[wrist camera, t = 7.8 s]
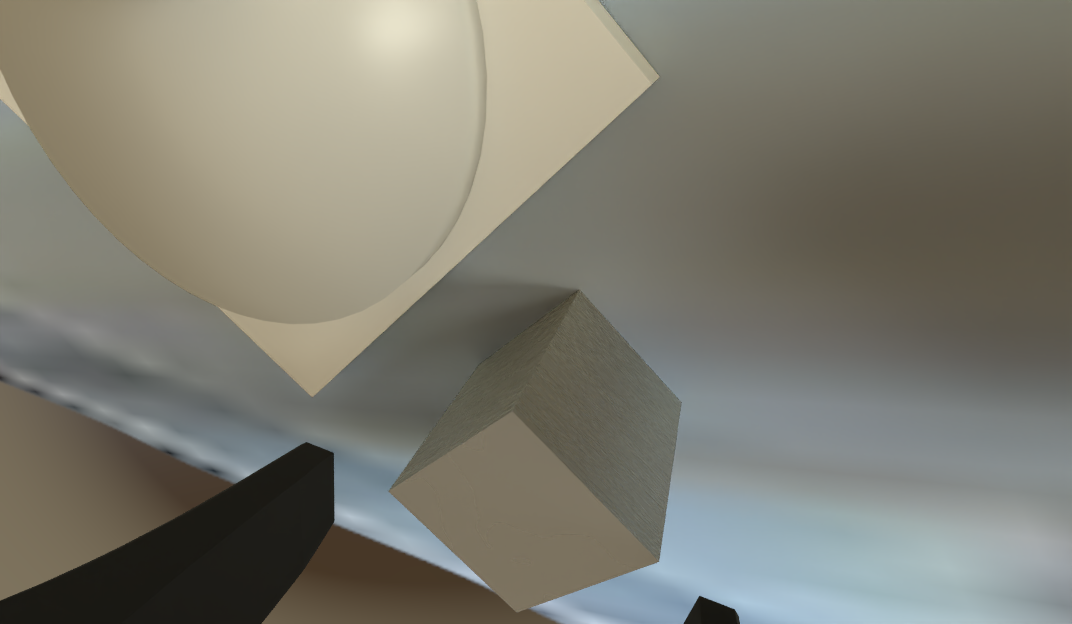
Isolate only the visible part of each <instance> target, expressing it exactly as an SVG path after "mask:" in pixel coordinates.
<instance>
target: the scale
mask: <svg viewBox="0 0 1072 624" xmlns="http://www.w3.org/2000/svg"><path fill="white" fill-rule="evenodd" d="M658 78H659V75H658V74H657V73H656V72H655V70H654V69H653V68H652V67H651V65H650V64H649V63H648V62H647V60H646V59H645V58H644V57H643V55H642V54H641V53H640V52H639V50H638V49H637V48H636V47H635V45H634V44H633V43H632V42H631V41H630V39H629V38H628V37H627V36H626V34H625V33H624V32H623V31H622V29H621V28H620V27H619V26H618V24H617V23H616V22H615V21H614V19H613V18H612V17H611V16H610V14H609V13H608V12H607V11H606V9H605V8H604V7H603V6H602V4H601V3H600V2H599V1H598V0H0V99H1V100H2V101H3V102H4V103H5V104H6V105H7V106H8V107H9V108H11V109H12V110H13V111H14V112H15V113H16V114H17V115H18V116H19V117H20V118H21V119H22V120H23V121H24V122H25V123H26V124H27V125H28V126H29V127H30V129H31V131H32V132H33V134H34V135H35V137H36V139H37V140H38V142H39V143H40V145H41V146H42V148H43V150H44V151H45V153H46V154H47V156H48V157H49V159H50V160H51V162H52V163H53V165H54V166H55V167H56V169H57V170H58V171H59V173H60V174H61V175H62V177H63V178H64V179H65V181H66V182H67V184H68V185H69V186H70V188H71V189H72V190H73V191H74V193H75V194H76V195H77V196H78V197H79V198H80V200H81V201H82V202H83V203H84V204H85V205H86V207H87V208H88V209H89V210H90V211H91V213H92V214H93V215H94V216H95V217H96V218H97V219H98V220H99V221H100V222H101V223H102V224H103V225H104V226H105V227H106V228H107V229H108V230H109V231H110V232H111V233H112V234H113V235H114V236H115V237H116V238H117V239H118V240H119V241H120V242H121V243H122V244H123V245H125V246H126V247H127V248H128V249H129V250H130V251H131V252H133V253H134V254H135V255H136V256H137V257H138V258H139V259H141V260H142V261H143V262H145V263H146V264H147V265H149V266H150V267H151V268H153V269H154V270H155V271H157V272H158V273H159V274H161V275H162V276H163V277H165V278H166V279H168V280H170V281H171V282H173V283H174V284H176V285H178V286H179V287H181V288H183V289H184V290H186V291H187V292H189V293H191V294H193V295H195V296H197V297H199V298H201V299H203V300H205V301H207V302H209V303H211V304H213V305H215V306H217V307H218V308H219V309H220V310H221V311H223V312H224V313H225V314H226V315H227V316H228V317H229V318H230V319H231V320H232V321H233V322H234V323H235V324H236V325H237V326H238V327H239V328H240V329H241V330H242V331H243V332H244V333H246V334H247V335H248V336H249V337H250V338H251V339H252V340H253V341H254V342H255V343H256V344H257V345H258V346H259V347H260V348H261V349H262V350H263V351H264V352H265V353H266V354H267V355H268V356H270V357H271V358H272V359H273V360H274V361H275V362H276V363H277V364H278V365H279V366H280V367H281V368H282V369H283V370H284V371H285V372H286V373H287V374H288V375H289V376H290V377H291V378H293V379H294V380H295V381H296V382H297V383H298V384H299V385H300V386H301V387H302V388H303V389H304V390H305V391H306V392H307V393H308V394H309V395H310V396H311V397H313V396H314V395H316V394H317V393H318V392H319V391H320V390H321V389H322V388H323V387H324V386H325V385H326V384H327V383H329V382H330V381H331V380H332V379H333V378H334V377H335V376H336V375H337V374H338V373H339V372H340V371H342V370H343V369H344V368H345V367H346V366H347V365H348V364H349V363H350V362H351V361H352V360H353V359H355V358H356V357H357V356H358V355H359V354H360V353H361V352H362V351H363V350H364V349H365V348H366V347H368V346H369V345H370V344H371V343H372V342H373V341H374V340H375V339H376V338H377V337H378V336H380V335H381V334H382V333H383V332H384V331H385V330H386V329H387V328H388V327H389V326H390V325H391V324H393V323H394V322H395V321H396V320H397V319H398V318H399V317H400V316H401V315H402V314H403V313H404V312H406V311H407V310H408V309H409V308H410V307H411V306H412V305H413V304H414V303H415V302H416V301H417V300H419V299H420V298H421V297H422V296H423V295H424V294H425V293H426V292H427V291H428V290H429V289H430V288H432V287H433V286H434V285H435V284H436V283H437V282H438V281H439V280H440V279H441V278H442V277H444V276H445V275H446V274H447V273H448V272H449V271H450V270H451V269H452V268H453V267H454V266H455V265H457V264H458V263H459V262H460V261H461V260H462V259H463V258H464V257H465V256H466V255H467V254H468V253H470V252H471V251H472V250H473V249H474V248H475V247H476V246H477V245H478V244H479V243H480V242H481V241H483V240H484V239H485V238H486V237H487V236H488V235H489V234H490V233H491V232H492V231H493V230H495V229H496V228H497V227H498V226H499V225H500V224H501V223H502V222H503V221H504V220H505V219H506V218H508V217H509V216H510V215H511V214H512V213H513V212H514V211H515V210H516V209H517V208H518V207H519V206H521V205H522V204H523V203H524V202H525V201H526V200H527V199H528V198H529V197H530V196H531V195H532V194H534V193H535V192H536V191H537V190H538V189H539V188H540V187H541V186H542V185H543V184H544V183H545V182H547V181H548V180H549V179H550V178H551V177H552V176H553V175H554V174H555V173H556V172H557V171H559V170H560V169H561V168H562V167H563V166H564V165H565V164H566V163H567V162H568V161H569V160H570V159H572V158H573V157H574V156H575V155H576V154H577V153H578V152H579V151H580V150H581V149H582V148H583V147H585V146H586V145H587V144H588V143H589V142H590V141H591V140H592V139H593V138H594V137H595V136H596V135H598V134H599V133H600V132H601V131H602V130H603V129H604V128H605V127H606V126H607V125H608V124H609V123H611V122H612V121H613V120H614V119H615V118H616V117H617V116H618V115H619V114H620V113H621V112H623V111H624V110H625V109H626V108H627V107H628V106H629V105H630V104H631V103H632V102H633V101H634V100H636V99H637V98H638V97H639V96H640V95H641V94H642V93H643V92H644V91H645V90H646V89H647V88H649V87H650V86H651V85H652V84H653V83H654V82H655V81H656V80H657V79H658Z"/></svg>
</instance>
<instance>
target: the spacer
mask: <svg viewBox="0 0 1072 624" xmlns="http://www.w3.org/2000/svg"><path fill="white" fill-rule="evenodd" d="M681 404H682V402H681V401H680V400H679V399H678V398H677V397H676V396H675V395H674V394H673V392H672V391H671V390H670V389H669V388H668V387H667V386H666V385H665V384H664V383H663V381H662V380H661V379H660V378H659V377H658V376H657V375H656V374H655V373H654V371H653V370H652V369H651V368H650V367H649V366H648V365H647V364H646V363H645V361H644V360H643V359H642V358H641V357H640V356H639V355H638V354H637V353H636V352H635V350H634V349H633V348H632V347H631V346H630V345H629V344H628V343H627V342H626V340H625V339H624V338H623V337H622V336H621V335H620V334H619V333H618V332H617V331H616V329H615V328H614V327H613V326H612V325H611V324H610V323H609V322H608V321H607V319H606V318H605V317H604V316H603V315H602V314H601V313H600V312H599V311H598V309H597V308H596V307H595V306H594V305H593V304H592V303H591V302H590V301H589V300H588V298H587V297H586V296H585V295H584V294H583V293H582V292H581V291H580V290H578V291H577V292H576V293H574V294H573V295H572V296H570V297H569V298H568V299H566V300H565V301H564V302H562V303H561V304H560V305H558V306H557V307H556V308H554V309H553V310H552V311H550V312H549V313H548V314H546V315H545V316H544V317H542V318H541V319H540V320H538V321H537V322H536V323H534V324H533V325H532V326H530V327H529V328H528V329H526V330H525V331H524V332H522V333H521V334H520V335H518V336H517V337H516V338H514V339H513V340H512V341H510V342H509V343H508V344H506V345H505V346H504V347H502V348H501V349H499V350H498V351H497V352H495V353H494V354H493V355H491V356H490V357H489V358H487V359H486V360H485V361H483V362H482V363H481V364H479V365H478V367H477V368H476V370H475V371H474V372H473V374H472V375H471V377H470V378H469V379H468V381H467V382H466V384H465V385H464V386H463V388H462V389H461V391H460V392H459V393H458V395H457V396H456V398H455V399H454V400H453V402H452V403H451V405H450V406H449V407H448V409H447V410H446V411H445V413H444V414H443V416H442V417H441V418H440V420H439V421H438V423H437V424H436V425H435V427H434V428H433V430H432V431H431V432H430V434H429V435H428V437H427V438H426V439H425V441H424V442H423V444H422V445H421V446H420V448H419V449H418V451H417V452H416V453H415V455H414V456H413V458H412V459H411V460H410V462H409V463H408V465H407V466H406V467H405V469H404V470H403V472H402V473H401V474H400V476H399V477H398V479H397V480H396V481H395V483H394V484H393V486H392V487H391V488H390V490H389V492H390V493H391V494H392V495H393V496H394V497H395V498H396V499H397V500H398V501H399V502H400V503H401V504H402V505H404V506H405V507H406V508H407V509H408V510H409V511H410V512H411V513H412V514H413V515H414V516H415V517H416V518H417V519H418V520H419V521H420V522H422V523H423V524H424V525H425V526H426V527H427V528H428V529H429V530H430V531H431V532H432V533H433V534H434V535H435V536H436V537H437V538H438V539H440V540H441V541H442V542H443V543H444V544H445V545H446V546H447V547H448V548H449V549H450V550H451V551H452V552H453V553H454V554H455V555H456V556H458V557H459V558H460V559H461V560H462V561H463V562H464V563H465V564H466V565H467V566H468V567H469V568H470V569H471V570H472V571H473V572H474V573H475V574H477V575H478V576H479V577H480V578H481V579H482V580H483V581H484V582H485V583H486V584H487V585H488V586H489V587H490V588H491V589H492V590H493V591H495V592H496V593H497V594H498V595H499V596H500V597H501V598H502V599H503V600H505V602H506V603H507V604H508V605H509V606H510V607H512V608H513V609H514V610H515V611H516V612H519V611H522V610H525V609H528V608H531V607H533V606H536V605H539V604H542V603H545V602H547V601H550V600H553V599H556V598H559V597H561V596H564V595H567V594H570V593H573V592H575V591H578V590H581V589H584V588H587V587H590V586H592V585H595V584H598V583H601V582H604V581H606V580H609V579H612V578H615V577H618V576H620V575H623V574H626V573H629V572H632V571H634V570H637V569H640V568H643V567H646V566H648V565H651V564H654V563H657V562H659V559H660V552H661V545H662V538H663V530H664V523H665V516H666V509H667V502H668V495H669V488H670V481H671V474H672V467H673V460H674V453H675V446H676V439H677V432H678V425H679V418H680V411H681Z"/></svg>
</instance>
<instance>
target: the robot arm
mask: <svg viewBox="0 0 1072 624" xmlns="http://www.w3.org/2000/svg"><path fill="white" fill-rule="evenodd" d="M333 523H334V453H333V452H330V451H328V450H325V449H323V448H320V447H318V446H315V445H312V444H310V443H307V442H306V443H304V444H301V445H300V446H298V447H296V448H295V449H293V450H291V451H290V452H288V453H286V454H285V455H283V456H281V457H280V458H278V459H276V460H275V461H273V462H271V463H270V464H268V465H266V466H265V467H263V468H261V469H260V470H258V471H256V472H255V473H253V474H251V475H250V476H248V477H246V478H245V479H243V480H241V481H240V482H238V483H236V484H234V485H233V486H231V487H229V488H228V489H226V490H224V491H222V492H221V493H219V494H217V495H215V496H214V497H212V498H210V499H208V500H207V501H205V502H203V503H201V504H200V505H198V506H196V507H195V508H193V509H191V510H189V511H187V512H185V513H184V514H182V515H180V516H178V517H176V518H175V519H173V520H171V521H169V522H167V523H165V524H163V525H161V526H159V527H157V528H156V529H154V530H152V531H150V532H148V533H146V534H144V535H142V536H140V537H138V538H136V539H134V540H132V541H131V542H129V543H127V544H125V545H123V546H121V547H119V548H117V549H115V550H113V551H111V552H109V553H107V554H105V555H103V556H100V557H98V558H96V559H94V560H92V561H90V562H88V563H86V564H84V565H81V566H79V567H77V568H75V569H73V570H70V571H68V572H66V573H64V574H62V575H59V576H57V577H55V578H53V579H51V580H48V581H46V582H44V583H42V584H39V585H37V586H35V587H32V588H30V589H27V590H25V591H22V592H20V593H18V594H15V595H13V596H10V597H8V598H6V599H3V600H1V601H0V624H261V623H262V622H263V621H264V620H265V618H266V617H267V616H268V615H269V613H270V612H271V611H272V610H273V608H274V607H275V606H276V604H277V603H278V602H279V601H280V599H281V598H282V597H283V596H284V594H285V593H286V592H287V591H288V589H289V588H290V587H291V585H292V584H293V583H294V582H295V580H296V579H297V578H298V577H299V575H300V574H301V573H302V571H303V570H304V569H305V567H306V565H307V564H308V562H309V561H310V559H311V558H312V556H313V555H314V553H315V551H316V550H317V549H318V547H319V545H320V544H321V542H322V540H323V539H324V537H325V536H326V534H327V532H328V531H329V529H330V527H331V526H332V524H333ZM684 624H740V621H739V616H738V614H737V613H736V611H735V609H732V608H730V607H727V606H724V605H722V604H719V603H717V602H714V601H712V600H709V599H707V598H704V597H701V596H699V597H698V599H697V601H696V603H695V604H694V606H693V608H692V610H691V611H690V613H689V615H688V617H687V618H686V620H685V622H684Z"/></svg>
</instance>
